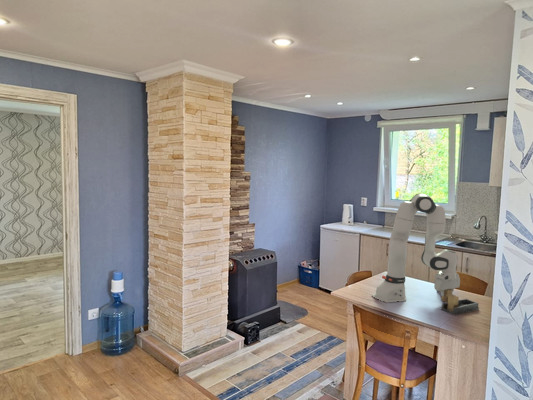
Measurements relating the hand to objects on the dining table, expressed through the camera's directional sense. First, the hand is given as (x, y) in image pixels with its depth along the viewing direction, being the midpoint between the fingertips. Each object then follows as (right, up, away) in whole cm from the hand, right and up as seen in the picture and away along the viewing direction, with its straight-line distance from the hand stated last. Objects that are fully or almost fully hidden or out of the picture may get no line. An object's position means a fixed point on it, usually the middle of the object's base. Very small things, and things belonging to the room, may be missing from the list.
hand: (446, 295), depth 237 cm
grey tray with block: (+1, -5, -14) cm, 15 cm away
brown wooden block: (0, -4, 0) cm, 4 cm away
